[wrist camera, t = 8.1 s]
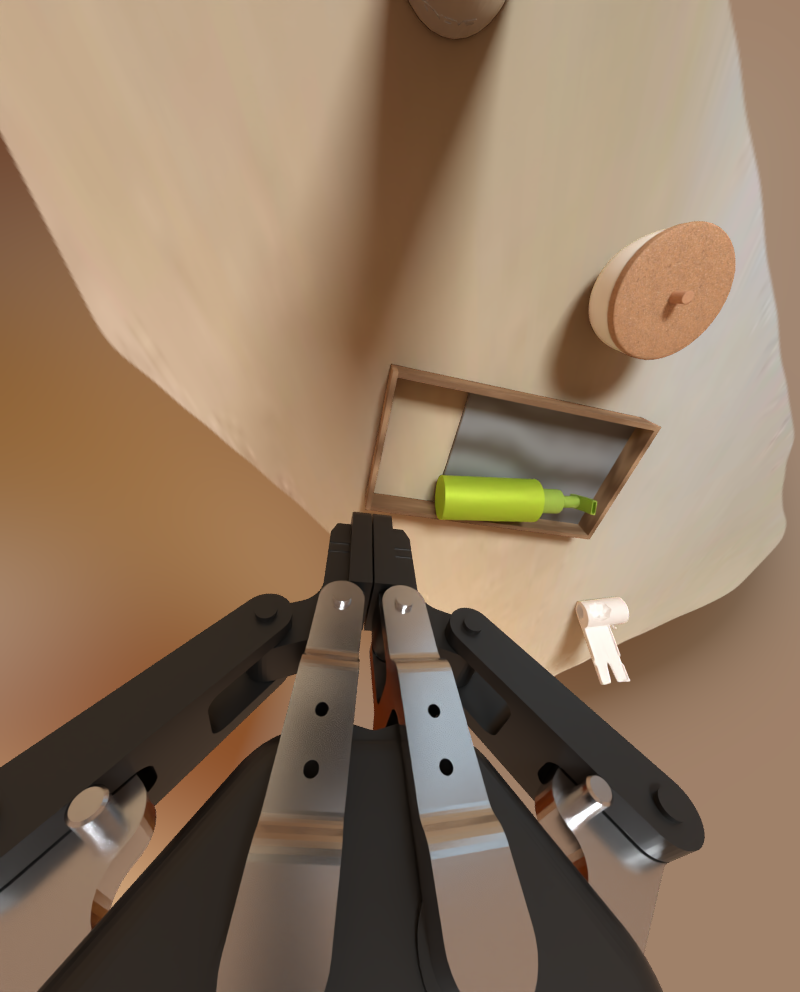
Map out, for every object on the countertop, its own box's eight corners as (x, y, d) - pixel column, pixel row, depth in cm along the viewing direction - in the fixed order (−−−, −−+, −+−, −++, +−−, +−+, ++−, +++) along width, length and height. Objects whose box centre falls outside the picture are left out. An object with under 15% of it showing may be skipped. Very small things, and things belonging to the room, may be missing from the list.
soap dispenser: (448, 479, 41) (603, 485, 43) (436, 472, 47) (570, 478, 50) (445, 526, 42) (596, 530, 44) (433, 513, 48) (565, 517, 51)
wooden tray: (391, 364, 39) (393, 370, 36) (642, 417, 45) (661, 427, 42) (365, 495, 48) (365, 509, 45) (577, 525, 54) (589, 539, 51)
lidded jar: (671, 211, 34) (765, 189, 26) (669, 322, 39) (746, 333, 31) (563, 262, 35) (621, 257, 27) (576, 363, 41) (627, 382, 33)
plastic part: (617, 592, 64) (662, 647, 54) (604, 626, 69) (643, 682, 59) (577, 597, 64) (616, 653, 54) (568, 630, 69) (601, 688, 59)
